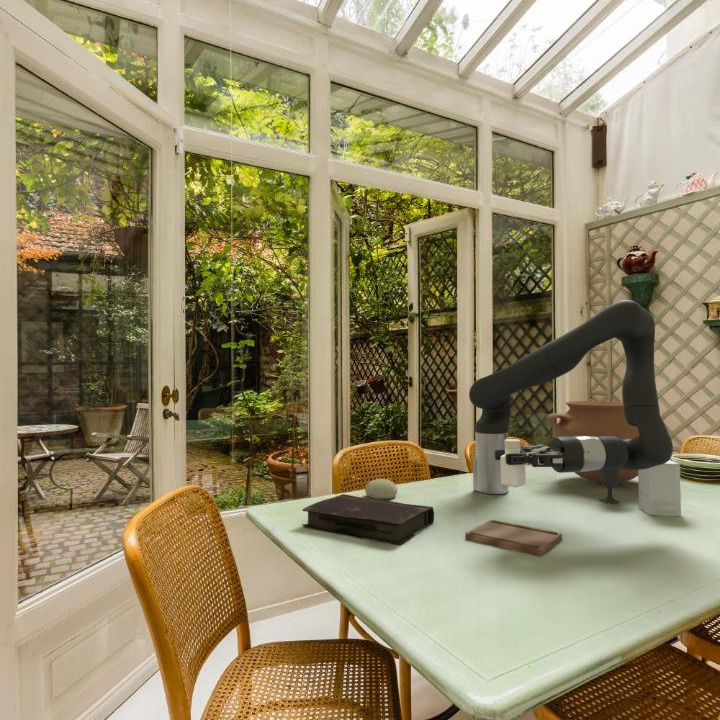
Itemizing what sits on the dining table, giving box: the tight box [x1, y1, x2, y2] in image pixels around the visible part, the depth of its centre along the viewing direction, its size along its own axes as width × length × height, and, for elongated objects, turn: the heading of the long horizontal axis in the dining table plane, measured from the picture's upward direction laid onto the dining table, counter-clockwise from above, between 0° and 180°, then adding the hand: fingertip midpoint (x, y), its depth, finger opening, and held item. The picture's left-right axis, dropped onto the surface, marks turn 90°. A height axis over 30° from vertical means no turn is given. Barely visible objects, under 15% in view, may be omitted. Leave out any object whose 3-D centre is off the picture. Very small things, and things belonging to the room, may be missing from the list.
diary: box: [301, 493, 435, 547], centre depth 117 cm, size 19×25×5 cm
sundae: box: [599, 468, 621, 505], centre depth 136 cm, size 7×7×15 cm
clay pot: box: [546, 400, 639, 485], centre depth 158 cm, size 34×30×25 cm
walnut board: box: [464, 519, 563, 557], centre depth 106 cm, size 16×12×2 cm
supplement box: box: [637, 459, 682, 517], centre depth 126 cm, size 7×7×13 cm
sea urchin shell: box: [364, 478, 398, 500], centre depth 143 cm, size 9×8×8 cm
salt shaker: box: [500, 438, 527, 488], centre depth 106 cm, size 4×4×10 cm
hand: (501, 457), depth 106 cm, fingers closed on salt shaker, 5 cm apart
